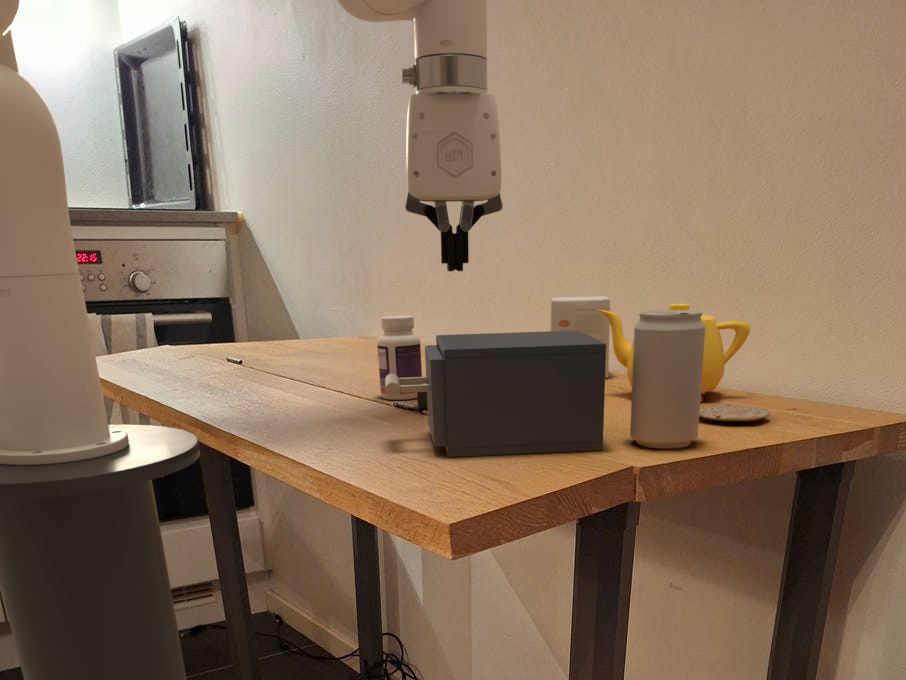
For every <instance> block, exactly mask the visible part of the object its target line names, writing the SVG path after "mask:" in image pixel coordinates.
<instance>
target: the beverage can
mask: <svg viewBox="0 0 906 680" xmlns="http://www.w3.org/2000/svg"><path fill="white" fill-rule="evenodd" d="M702 315H703V312H702V311H700V310H690V309H689V310H669V309H655V310H645V311H640V312H639V313H638V317H639V319H638V321H637V323H636V324H635V326H634V328H633V329H634V330H633V332H634V333H633V336H634V337H633V340H634V353H633V378H632V387H631V404H630V406H631V407H630V428H629V430H630V431H629V435H630V438H632V439H633V440H634V441H635V442H636V444H637V445H639V446H641V447H645V448H650V449H651V448H652V449H681V448H686V447H688V446H690V445H691V442H693V441H694V440H696V439H697V438H698V436H699V426H700V425H699V424H700V417H699V411H700V408H701V401H700V397H702V394H701V383H702V369H703V355H704V341H705V325H704V323H703V321H702V319H701V316H702Z"/></svg>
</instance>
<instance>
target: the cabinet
mask: <svg viewBox="0 0 906 680" xmlns="http://www.w3.org/2000/svg"><path fill="white" fill-rule="evenodd" d="M435 343H436V344H435V345H437V347H438V349H439V351H440V353H441V355H442V357H443V359H444V378H445V404H446V431H447V446H444V449H445V452H446V456H447V458H459V457H462V458H463V457H482V456H483V457H484V456H485V457H486V456H506V455H508V456H509V455H528V454H549V453H551V454H552V453H573V452H594V451H604V428H605V427H604V425H605V424H604V423H605V422H604V421H605V397H606V396H605V393H606V392H605V391H606V378H605V366H606V353H605V352H606V343H603V342H601V341H599V340H597V339H595V338H593V337H591V336H589V335H587V334H584V333H582V332H580V331H578V330H575V331H550V330H549V331H519V332H518V331H517V332H491V333H462V334H461V333H459V334H436V335H435Z"/></svg>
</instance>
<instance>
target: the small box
mask: <svg viewBox="0 0 906 680" xmlns="http://www.w3.org/2000/svg"><path fill="white" fill-rule="evenodd" d="M598 309H599V310H605V311H610V312H611V299H610V298H609V297H607V296H605V295H602V296H599V295H598V296H597V295H596V296H567V297H563V296H562V297H550V327H549V328H550V329H549V331H575V330H578V331H580V332H582V333H584V334H587V335H589V336H591V337H593V338H595V339H597V340H599V341H601V342H603V343H606V352H605V353H606V366H605V379H608V378H609V368H610V367H609V361H610V360H609V359H610V353H609V352H610V327H611V325H610V322H609V320H608V319H607V317H606V316H605V315H604V314H602V313H601V312H600V311H599V310H598Z"/></svg>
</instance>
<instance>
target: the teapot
mask: <svg viewBox="0 0 906 680" xmlns="http://www.w3.org/2000/svg"><path fill="white" fill-rule="evenodd" d="M690 307H691V304H689V303H682V302H681V303H671V304H669V305H668V310H690ZM598 310H599V309H598ZM599 311H600V312H601V313H602V314H604V315H605V316H606V317H607V319H608V320H609V322H610V329H611V338H612V349H613V352H614V355H615V358H616V359H617V361H618V363H620V365H622V366H623V367H625V368H626V378H627V380H628V383H629V385H630V387H631V388H632V378H633V353H634V339H633V341H632V343H631V344H630V343H629V342H628V341H627V340H626V338H625V336H624V330H623V329H624V328H623V324H622V319H621V318H620V316H619V314H618V313H616V312H613V311H611V310H610V311H605V310H599ZM701 319H702V321H703V323H704V325H705V341H704V355H703V369H702V383H701V395H705V394H706V392H712V391H715V390H716V389H717V387H718V385H719V384H720V382H721V380H722V378H723V376H724V374H725V366H726V365H727V363H728V362H729V361H730V360H731V359H732V358H733V357H734V356H735V355H736V354H737V352H738V351H739V350H740V349H741V348H742V347H743V345H744V344H745V342H746V341H747V339H748V337H749V335H750V331H751V326H750V324H749V323H748V322H746V321H744V320H730V321H729V320H728V321H722V322H717V319H716V317H715V316H713V315H707V314H706V315H705V314H702V316H701ZM720 330H734V332H735V334H734V338H733V340H732V342H731V344H730V346H729V348H728V349H727V351H726V352H724V345H723V340H722V336H721V333H720ZM700 402H703V397H702V396H701V397H700Z"/></svg>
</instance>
